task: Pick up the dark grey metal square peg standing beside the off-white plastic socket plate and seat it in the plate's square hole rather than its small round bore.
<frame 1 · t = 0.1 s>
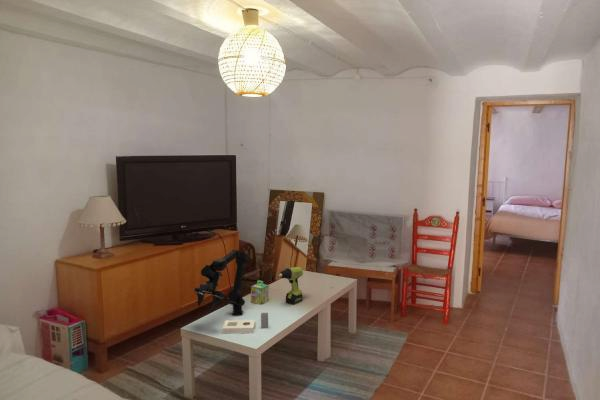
hand: (204, 307, 253), 15 cm above the table, tool tilted 35°, fingers open, 9 cm apart
socket plate: (239, 328, 259), on the table
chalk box: (260, 302, 304), on the table
cordless drill: (290, 303, 299), on the table
square peg: (264, 326, 261), on the table
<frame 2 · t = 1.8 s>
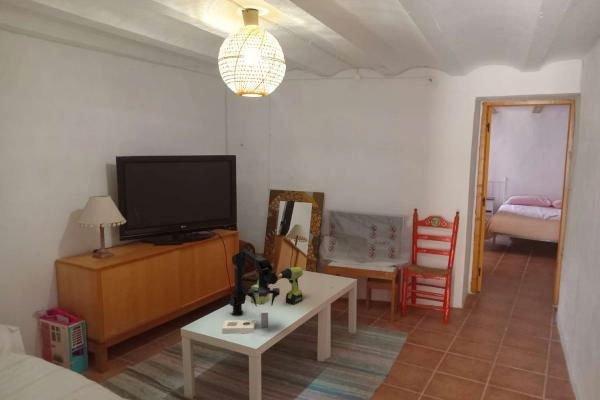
hand: (264, 306, 259), 13 cm above the table, tool pointing down, fingers open, 9 cm apart
nothing on the table moved.
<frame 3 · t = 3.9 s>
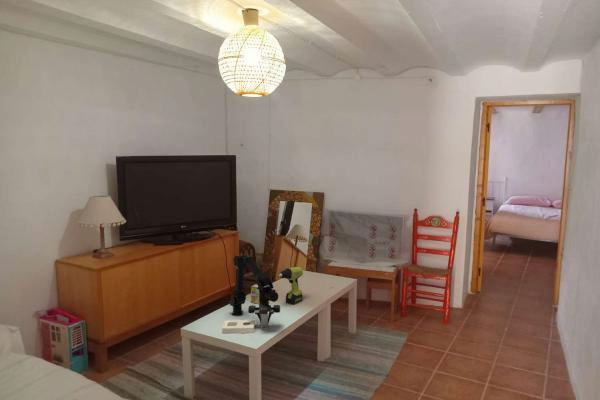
hand: (264, 322, 261), 3 cm above the table, tool pointing down, fingers closed on square peg, 4 cm apart
square peg: (264, 326, 261), on the table, touching gripper
everything else where it was.
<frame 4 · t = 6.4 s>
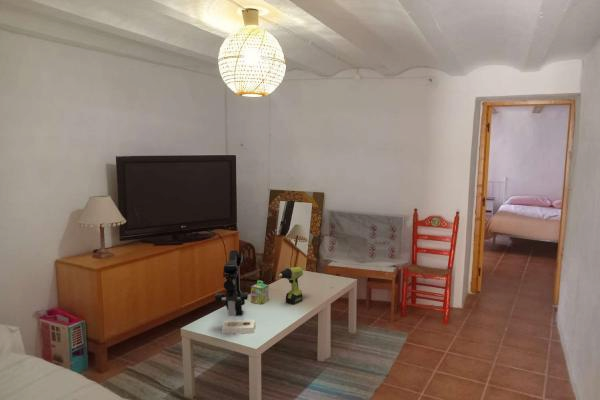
hand: (232, 310, 257), 11 cm above the table, tool pointing down, fingers closed on square peg, 4 cm apart
square peg: (232, 314, 258), point 9 cm above the table, touching gripper
everything else where it was.
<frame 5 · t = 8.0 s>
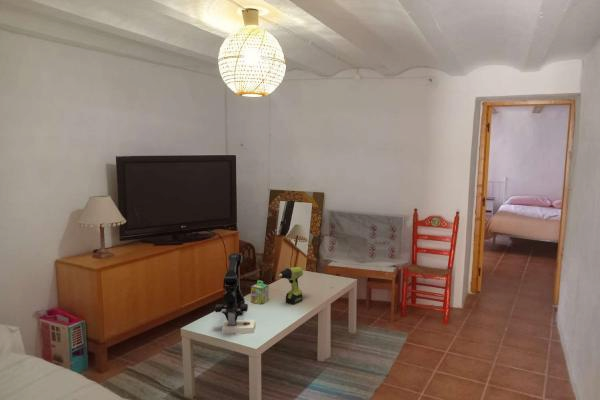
hand: (232, 321, 258), 4 cm above the table, tool pointing down, fingers closed on square peg, 4 cm apart
square peg: (232, 325, 259), point 2 cm above the table, touching gripper
everything else where it was.
when the fingers open (4 cm above the table, at t = 9.2 s): square peg drops 1 cm, resting in socket plate.
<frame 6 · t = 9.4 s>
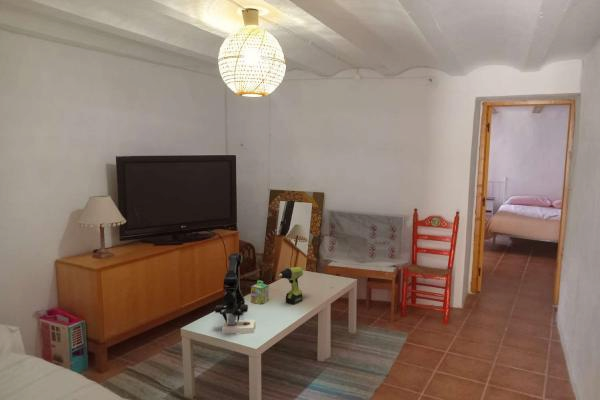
hand: (232, 322, 258), 4 cm above the table, tool pointing down, fingers open, 6 cm apart
square peg: (232, 329, 259), resting in socket plate
everything else where it was.
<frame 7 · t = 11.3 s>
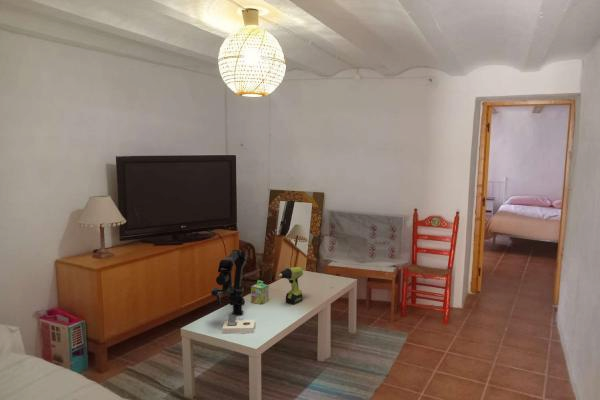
hand: (228, 304, 266), 12 cm above the table, tool pointing down, fingers open, 9 cm apart
nothing on the table moved.
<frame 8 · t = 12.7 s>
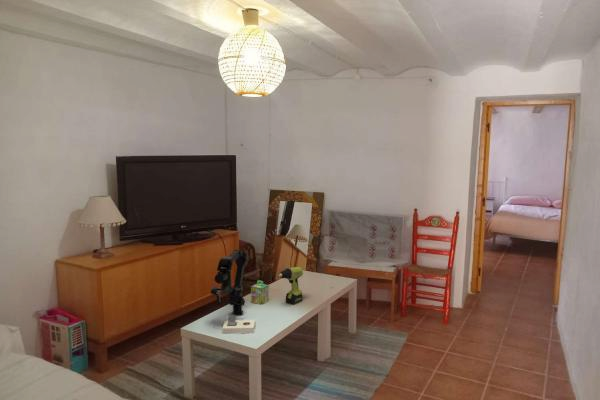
hand: (227, 303, 267), 12 cm above the table, tool pointing down, fingers open, 9 cm apart
nothing on the table moved.
at the end: square peg 0.0 cm from the target spot on the socket plate, point 0.0 cm above the socket plate's base; square peg tilted 0°; the gripper is holding nothing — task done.
